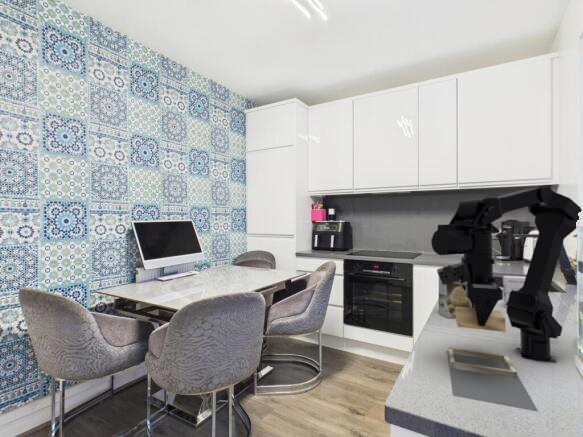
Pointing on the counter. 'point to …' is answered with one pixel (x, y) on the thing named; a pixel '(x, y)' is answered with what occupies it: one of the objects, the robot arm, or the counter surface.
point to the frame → (482, 369)
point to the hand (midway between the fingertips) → (479, 321)
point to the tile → (469, 320)
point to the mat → (488, 384)
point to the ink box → (511, 286)
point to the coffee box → (452, 298)
